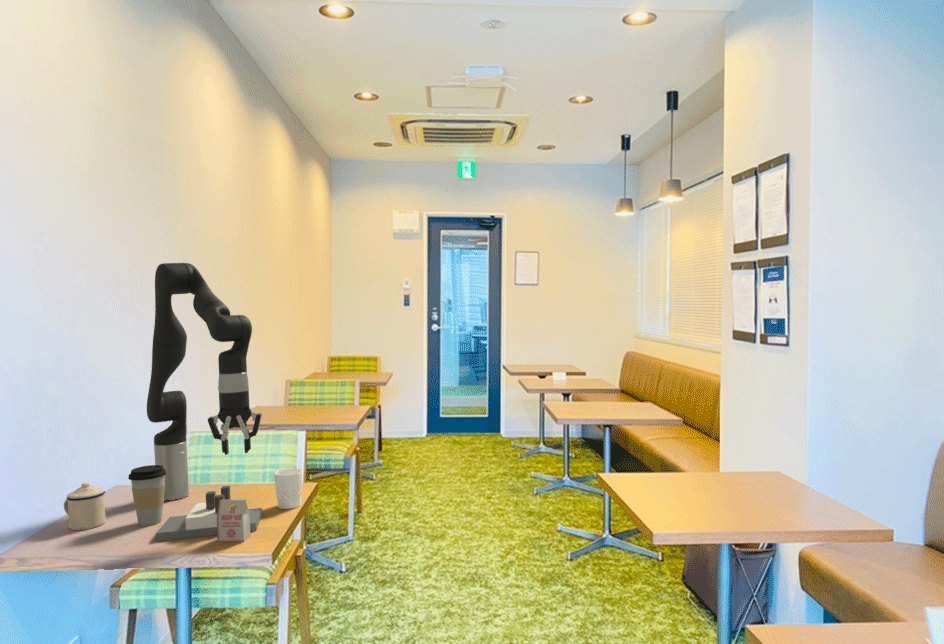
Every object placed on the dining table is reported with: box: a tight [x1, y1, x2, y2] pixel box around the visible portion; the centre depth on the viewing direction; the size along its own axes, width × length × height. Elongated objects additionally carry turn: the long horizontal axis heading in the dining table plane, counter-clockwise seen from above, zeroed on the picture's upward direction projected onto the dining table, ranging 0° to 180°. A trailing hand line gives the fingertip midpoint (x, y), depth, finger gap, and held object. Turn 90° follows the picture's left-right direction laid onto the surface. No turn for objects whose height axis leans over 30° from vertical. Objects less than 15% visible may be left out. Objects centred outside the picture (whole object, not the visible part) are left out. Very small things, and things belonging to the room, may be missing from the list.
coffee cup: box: [127, 464, 167, 527], centre depth 173 cm, size 9×9×15 cm
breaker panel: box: [155, 485, 263, 542], centre depth 167 cm, size 13×24×9 cm, turn 102°
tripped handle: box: [205, 490, 217, 509], centre depth 167 cm, size 2×2×4 cm
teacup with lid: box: [63, 482, 107, 531], centre depth 173 cm, size 12×9×12 cm
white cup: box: [274, 468, 303, 510], centre depth 183 cm, size 8×8×10 cm
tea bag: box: [217, 499, 251, 543], centre depth 157 cm, size 4×7×10 cm, turn 85°
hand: (236, 452), depth 168 cm, fingers open, 4 cm apart
